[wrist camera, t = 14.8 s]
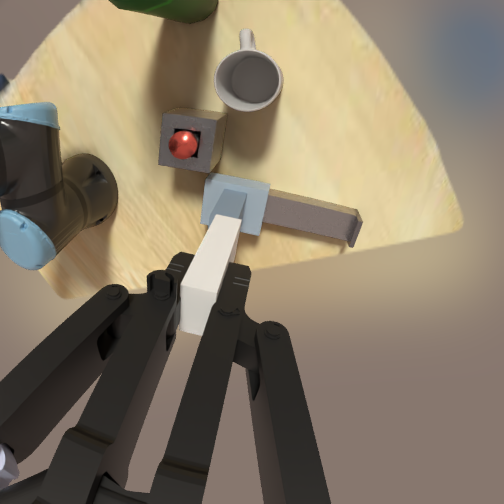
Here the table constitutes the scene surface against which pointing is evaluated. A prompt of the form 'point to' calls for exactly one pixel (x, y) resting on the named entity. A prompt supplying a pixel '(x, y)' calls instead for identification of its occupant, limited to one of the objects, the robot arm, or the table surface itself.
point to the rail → (312, 216)
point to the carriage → (235, 201)
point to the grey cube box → (210, 137)
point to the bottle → (170, 8)
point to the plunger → (184, 143)
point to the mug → (248, 77)
